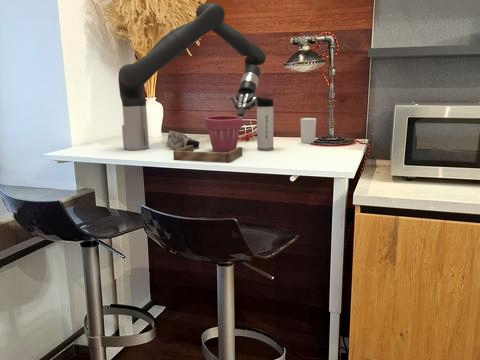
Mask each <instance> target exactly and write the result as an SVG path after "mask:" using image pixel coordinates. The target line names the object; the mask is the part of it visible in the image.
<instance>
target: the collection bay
mask: <svg viewBox="0 0 480 360" xmlns="http://www.w3.org/2000/svg"><path fill="white" fill-rule="evenodd" d="M194 149H195V148H194V146H193V145H189V146H186V147H183V148H181V149H178V150H174V151H173V152H172V155H173V160H174V161H191V162H193V161H194V162H210V163H211V162H212V163H225V164H227V163H232V162H233V161H235V160H237V159H239V158H241V157H243V147H242V146H238V147H236V149H234V150H232V151H230V152H216V151H212V152H211V151H194Z"/></svg>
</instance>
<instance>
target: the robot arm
mask: <svg viewBox="0 0 480 360" xmlns="http://www.w3.org/2000/svg"><path fill="white" fill-rule="evenodd" d="M225 13H226V12H225V9H224V7H223V6H222V5H221V4H219V3H216V2H204V3H201V4H200V5H198V6H197V8H196V10H195V17H196V18H194V19H193V20H192V21H190V22H187V23H185V24H182V25H180V26H178V27H176V28H174V29H173V30H171V31H169V32H168V33H166V34H165V35H164V36H163V37H161V39H159V40H158V41H157V42H156V43H155V45H154V46H153V47H152V48H151V50H150V51H149V52H148V53H147V54H146V55H144V56H143V57H141V58H139V59H138V60H137V61H135V62H132V63H130V64H129V63H128V64H124V65H123V66H122V67H121V68H120V69H119V71H118V77H117V78H118V89H119V96H120V100H121V104H122V105H121V106H122V107H121V108H122V118H123V124H122V126H121V131H122V132H121V133H122V144H123V149H124V150H128V151H142V150H147V149H149V148H150V142H149V131H148V130H149V129H148V115H147V114H148V113H147V100H146V98H145V96H144V93H143V92H144V91H143V86H144V85H145V84H146V83H147V81H149V80H150V79H151V78H152V77H153V76H154V75H155V74H156V73H157V72H158V71H159V70H160V69H162V68H164V67H165V66H167V65H169V64H170V63H171V62H172V61H174V60H175V59H176V58H178V57H179V56H180V55H182V53H184V52H185V51H186V50H187V49H188V48H189V49H190V47H191V46H192V45H194V44H195V43H196V42H197V41H198V40H200V39H201V38H202V37H203V36H205V35H206V34H208V33H210V32H211V31H212V32H213V33H214V34H216V35H218V37H220V38H221V39H222V40H223V41H224V42H225V43H227V44H228V45H229V46H230V47H232V49H234V50H235V52H236V53H238V54H239V55H240V56H242V57H244V72H243V76H242V78H241V81H240V84H239V87H238V90H237V94H235V97H233V96H231V97H230V102H231V104H232V105H233V107H234V108H235V110H237V112H236V116H240V117H242V118H243V117H244V116H245V113H246V111H247V110H248V111H250V110H251V109H252V108H254V107H255V106H257V99H256V98H257V97H256V94H257V93H256V91H257V88H258V87H259V86H258V84H259V79H260V75H261V69H260V66H257V65H261V64H263V63H264V62H265V58H266V57H265V54H264V53H263V51H262V50H261V49H260V48H261V47H260V46H258V45H256V44H254V43H252V42H250V41H249V40H248V39H247V38H246V37H245V35H243V34H242V33H241V32H240V31H238V30H237V29H235V28H233V27H232V26H231V25H230V24H227V23H226V22H225V21H224V19H225V16H226V14H225ZM259 47H260V48H259ZM246 56H247V57H246ZM245 57H246V58H245ZM263 65H264V64H263ZM261 66H262V65H261ZM237 101H238V102H237Z"/></svg>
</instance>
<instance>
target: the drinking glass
mask: <svg viewBox="0 0 480 360" xmlns="http://www.w3.org/2000/svg"><path fill="white" fill-rule="evenodd" d="M316 130H317V118H316V117H302V118H300V143H301V144H305V145H307V144H309V145H311V143H313V142H314V141H315V142H316ZM313 144H314V143H313Z"/></svg>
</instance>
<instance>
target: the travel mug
mask: <svg viewBox="0 0 480 360" xmlns="http://www.w3.org/2000/svg"><path fill="white" fill-rule="evenodd" d="M255 98H256V97H255ZM256 99H257V104H256V119H257V120H256V125H257V127H256V129H257V130H256V131H257V134H256V135H257V137H256V138H257V139H256V140H257V143H256V144H257V145H256V147H257V150H258V151H261V152H265V151H266V152H269V151H270V152H271V151H273V150H274V99H273V98H268V97H267V98H265V97H260V96H258V97H257V98H256Z"/></svg>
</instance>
